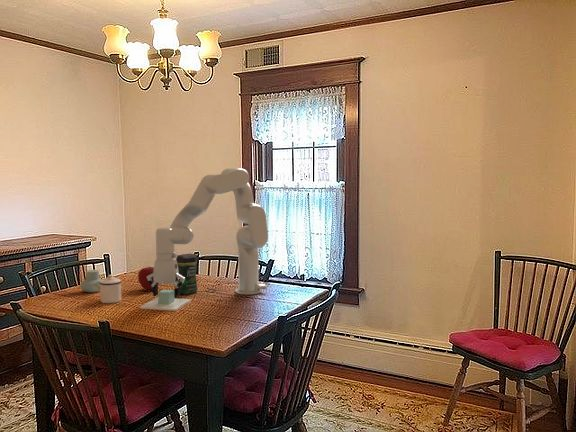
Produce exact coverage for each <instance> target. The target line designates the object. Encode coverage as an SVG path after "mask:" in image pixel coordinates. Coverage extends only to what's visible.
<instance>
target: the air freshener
mask: <svg viewBox="0 0 576 432" xmlns="http://www.w3.org/2000/svg"><path fill="white" fill-rule="evenodd" d="M101 280H102V279H101V278H100V271H99V270H98V269H89V270H86V271H85V279H84V280H83V281H81V283H80V289H81V290H82V291H83V292H86V293H90V294H91V293H92V294H93V293H100V291H99V285H100V281H101Z"/></svg>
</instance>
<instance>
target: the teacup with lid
mask: <svg viewBox="0 0 576 432" xmlns="http://www.w3.org/2000/svg"><path fill="white" fill-rule="evenodd" d="M99 293H100V302H101V303H102V304H114V303H115V304H116V303H119V302H121V301H122V280H121V278H117V277H114V275H113V274H108V275H107V277H105V278H103V279H101V281H100V285H99Z"/></svg>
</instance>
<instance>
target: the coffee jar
mask: <svg viewBox="0 0 576 432" xmlns="http://www.w3.org/2000/svg"><path fill="white" fill-rule="evenodd" d="M176 255H177V258H175V259H176V260H177V265H178V272H179V274H180V275H181V276H183V277H185V280H184V282H183V284H182V285H181V286H180V287H179V290H180V294H179V295H189V294H190V295H191V294H195V293H197V292H198V283H197V282H198V281H197V272H196V271H197V264H198V259H197V254H194V253H184V254H176ZM178 282H180V279H179V281H178Z"/></svg>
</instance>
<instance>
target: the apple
mask: <svg viewBox="0 0 576 432" xmlns="http://www.w3.org/2000/svg"><path fill="white" fill-rule="evenodd" d="M153 271H154V266H153V267H152V266H150V265H149V266H148V267H143V268H141V269H140V270H139V271H138V276H137V278H138V282H139V284H140V286H141V287H142V288H143V289H144V290H145V291H148V292H149V291H153V287H152V286H151V284H150V283H149V281H148V279H147V276H148V275H150V274H152V273H153ZM151 278H152V280H153V277H151ZM153 281H154V280H153ZM159 284H160V283H158V284H157V286H158V287H159Z"/></svg>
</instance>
